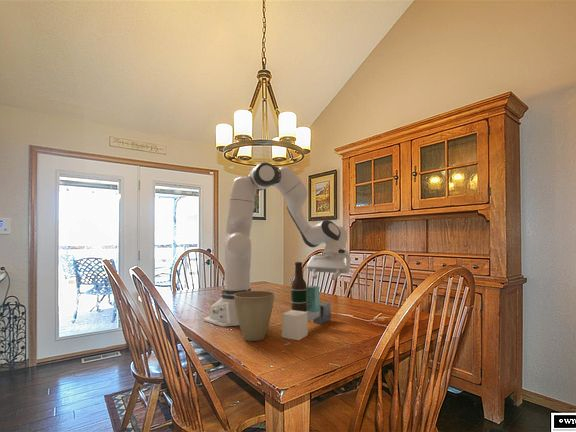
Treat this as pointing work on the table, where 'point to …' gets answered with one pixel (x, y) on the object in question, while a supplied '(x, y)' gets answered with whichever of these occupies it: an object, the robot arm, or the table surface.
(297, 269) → the beer bottle
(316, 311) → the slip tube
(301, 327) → the socket block
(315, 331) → the table surface
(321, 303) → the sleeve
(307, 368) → the table surface
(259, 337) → the plant pot
